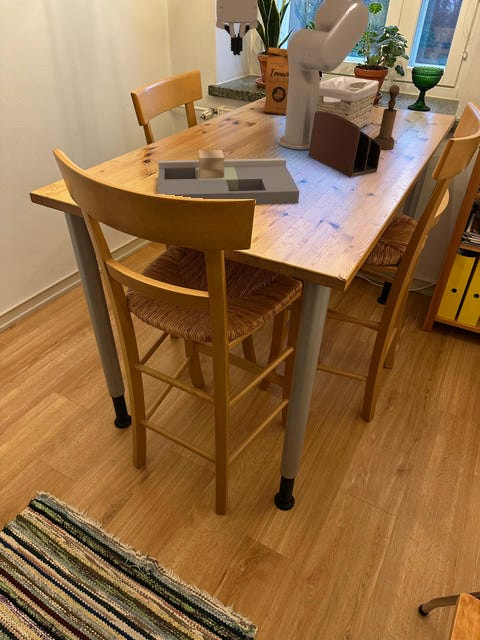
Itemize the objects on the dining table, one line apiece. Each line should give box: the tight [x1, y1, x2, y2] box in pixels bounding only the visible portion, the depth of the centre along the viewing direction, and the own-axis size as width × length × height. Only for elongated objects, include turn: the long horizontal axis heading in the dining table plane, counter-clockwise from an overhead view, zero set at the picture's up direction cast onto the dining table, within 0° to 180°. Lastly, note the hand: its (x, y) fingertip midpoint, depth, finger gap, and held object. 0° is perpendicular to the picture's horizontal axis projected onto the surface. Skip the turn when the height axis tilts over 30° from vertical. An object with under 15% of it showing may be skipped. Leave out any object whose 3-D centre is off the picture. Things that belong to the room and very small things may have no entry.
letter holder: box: [308, 111, 382, 178], centre depth 132 cm, size 10×20×14 cm, turn 29°
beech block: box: [198, 149, 225, 178], centre depth 118 cm, size 6×6×5 cm
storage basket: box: [317, 75, 380, 129], centre depth 161 cm, size 24×16×15 cm
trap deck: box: [156, 157, 300, 205], centre depth 118 cm, size 34×19×4 cm, turn 97°
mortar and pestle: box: [373, 84, 401, 151], centre depth 144 cm, size 7×6×18 cm
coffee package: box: [263, 47, 289, 116], centre depth 174 cm, size 10×12×22 cm
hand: (236, 54), depth 122 cm, fingers closed
